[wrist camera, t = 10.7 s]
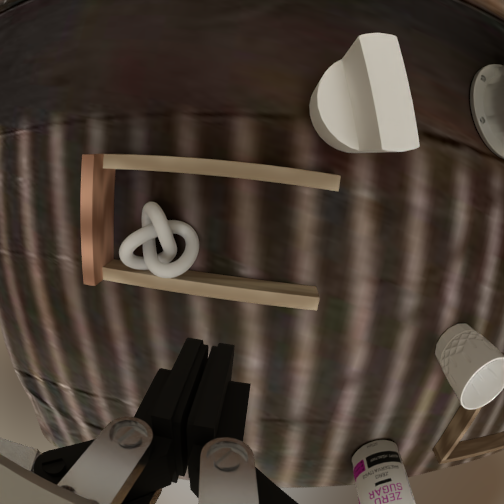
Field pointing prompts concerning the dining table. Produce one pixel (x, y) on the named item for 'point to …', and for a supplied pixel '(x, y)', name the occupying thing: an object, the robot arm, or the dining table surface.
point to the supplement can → (381, 474)
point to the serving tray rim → (455, 450)
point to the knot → (164, 230)
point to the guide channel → (190, 282)
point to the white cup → (470, 365)
